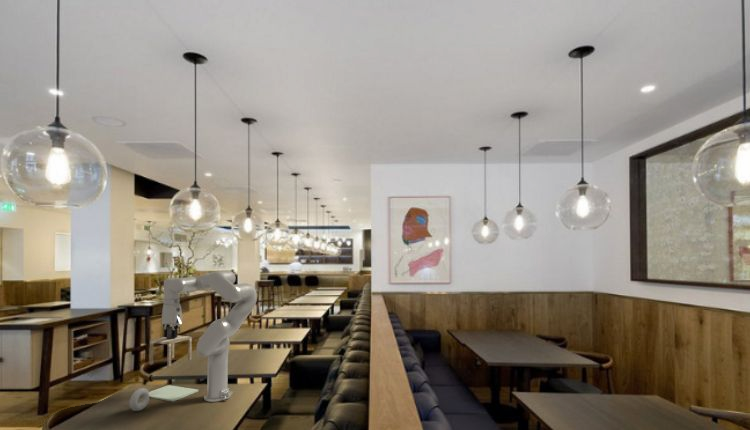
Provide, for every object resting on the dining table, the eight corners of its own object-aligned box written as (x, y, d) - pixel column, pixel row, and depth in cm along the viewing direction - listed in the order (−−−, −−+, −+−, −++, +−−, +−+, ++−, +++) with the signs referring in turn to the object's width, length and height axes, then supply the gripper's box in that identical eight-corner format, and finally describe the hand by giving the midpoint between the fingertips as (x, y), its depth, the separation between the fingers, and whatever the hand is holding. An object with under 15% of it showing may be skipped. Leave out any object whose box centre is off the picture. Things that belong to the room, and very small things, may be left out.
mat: (198, 391, 222) (198, 389, 222) (172, 401, 208) (172, 399, 208) (168, 386, 231) (168, 385, 231) (141, 396, 217) (141, 394, 217)
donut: (133, 415, 192) (133, 392, 192) (127, 414, 193) (127, 391, 193) (151, 407, 201) (151, 385, 202) (145, 406, 202) (145, 384, 203)
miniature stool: (191, 359, 224) (191, 325, 225) (169, 366, 211) (169, 330, 213) (172, 357, 230) (173, 323, 231) (149, 364, 217) (150, 328, 218)
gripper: (189, 301, 223) (188, 336, 222) (166, 300, 230) (166, 335, 228) (177, 303, 216) (176, 339, 215) (154, 302, 223) (153, 337, 222)
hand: (171, 337), depth 222 cm, fingers closed on miniature stool, 4 cm apart
